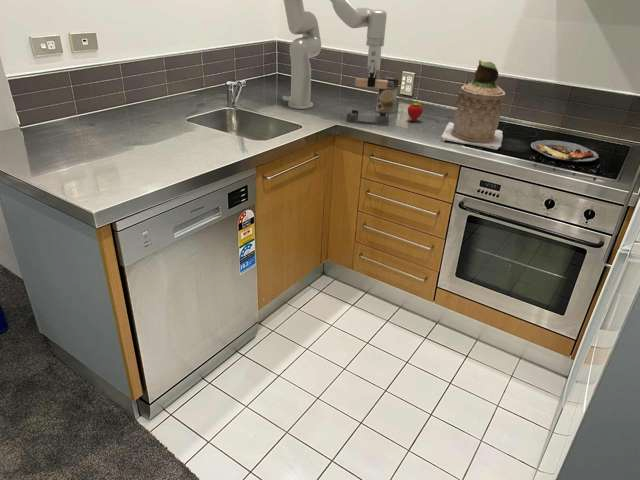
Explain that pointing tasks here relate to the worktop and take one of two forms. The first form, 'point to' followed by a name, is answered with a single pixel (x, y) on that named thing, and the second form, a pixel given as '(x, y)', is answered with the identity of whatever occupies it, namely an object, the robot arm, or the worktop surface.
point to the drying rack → (367, 118)
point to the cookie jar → (478, 110)
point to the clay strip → (364, 82)
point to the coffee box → (387, 95)
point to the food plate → (564, 151)
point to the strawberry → (415, 111)
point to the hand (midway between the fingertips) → (371, 85)
